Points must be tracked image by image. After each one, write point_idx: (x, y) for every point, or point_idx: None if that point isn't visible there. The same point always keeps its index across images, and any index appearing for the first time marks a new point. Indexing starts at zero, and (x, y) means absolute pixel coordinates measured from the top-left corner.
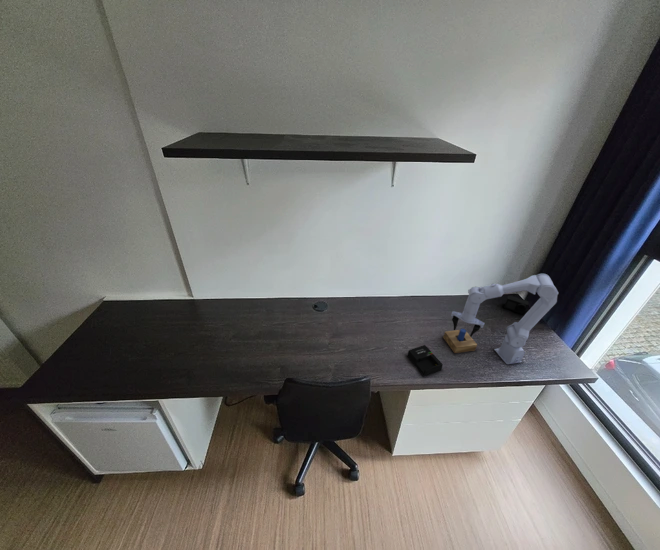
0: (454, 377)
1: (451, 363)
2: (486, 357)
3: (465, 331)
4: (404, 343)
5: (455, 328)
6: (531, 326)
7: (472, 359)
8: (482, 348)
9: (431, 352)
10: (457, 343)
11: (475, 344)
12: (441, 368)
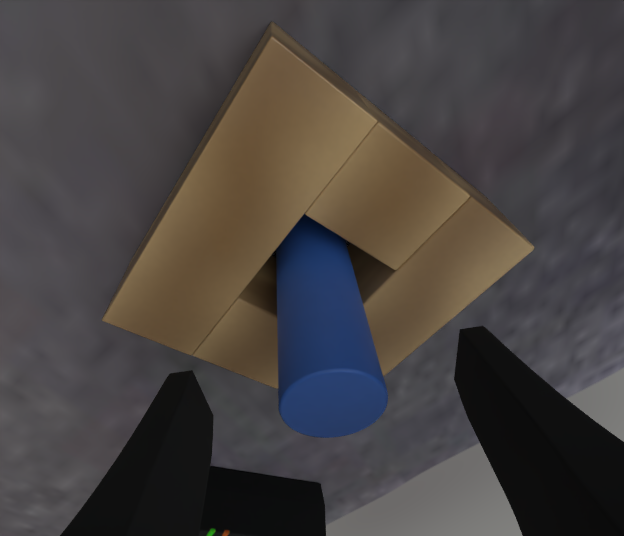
0: (402, 472)
1: None
2: (605, 205)
3: (373, 400)
4: (13, 484)
5: (207, 459)
6: None
7: (478, 310)
8: (570, 96)
9: (214, 533)
10: None
11: (512, 260)
12: (323, 504)
